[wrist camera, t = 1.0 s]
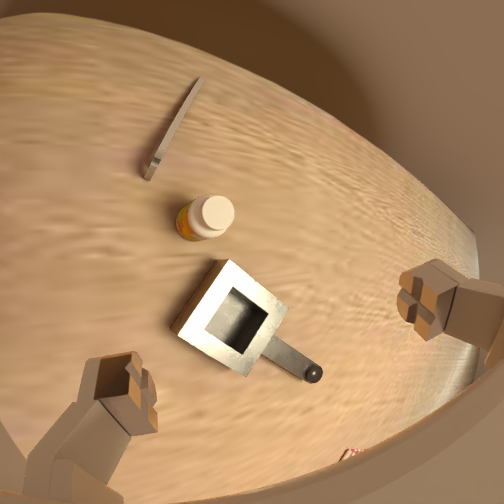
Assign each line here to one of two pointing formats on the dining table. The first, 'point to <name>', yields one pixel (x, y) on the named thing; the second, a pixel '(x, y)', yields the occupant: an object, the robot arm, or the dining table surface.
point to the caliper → (172, 130)
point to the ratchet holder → (239, 323)
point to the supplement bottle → (205, 218)
